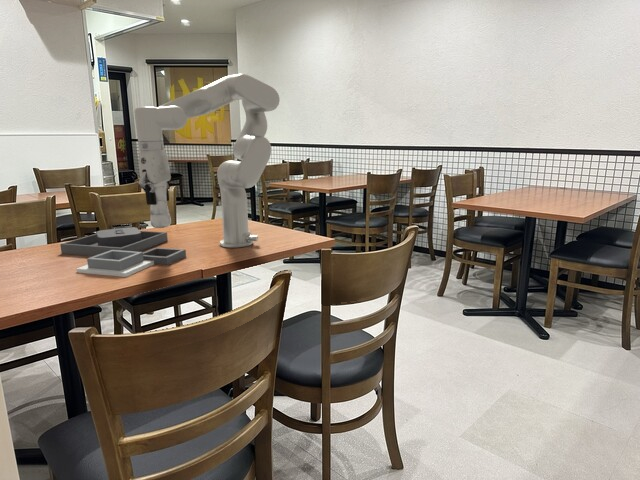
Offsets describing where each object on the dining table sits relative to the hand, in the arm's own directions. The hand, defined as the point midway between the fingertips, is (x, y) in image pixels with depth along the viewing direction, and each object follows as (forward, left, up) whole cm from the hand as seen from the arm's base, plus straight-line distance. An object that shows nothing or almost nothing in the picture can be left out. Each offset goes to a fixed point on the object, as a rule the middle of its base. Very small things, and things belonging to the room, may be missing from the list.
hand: (158, 202), depth 146 cm
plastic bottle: (0, 0, -9) cm, 9 cm away
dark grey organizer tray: (+27, -10, -20) cm, 35 cm away
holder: (0, +1, -20) cm, 20 cm away
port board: (+8, +13, -20) cm, 25 cm away
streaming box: (+27, -11, -19) cm, 35 cm away
